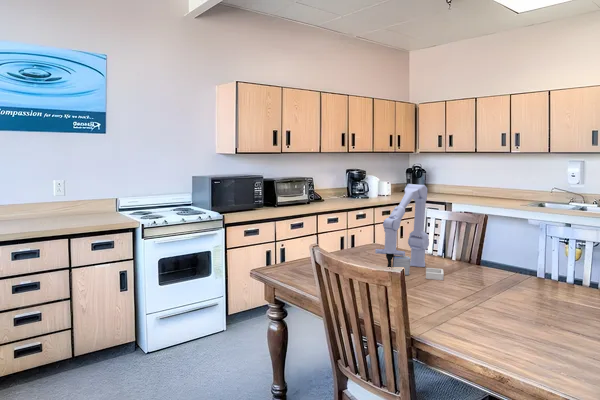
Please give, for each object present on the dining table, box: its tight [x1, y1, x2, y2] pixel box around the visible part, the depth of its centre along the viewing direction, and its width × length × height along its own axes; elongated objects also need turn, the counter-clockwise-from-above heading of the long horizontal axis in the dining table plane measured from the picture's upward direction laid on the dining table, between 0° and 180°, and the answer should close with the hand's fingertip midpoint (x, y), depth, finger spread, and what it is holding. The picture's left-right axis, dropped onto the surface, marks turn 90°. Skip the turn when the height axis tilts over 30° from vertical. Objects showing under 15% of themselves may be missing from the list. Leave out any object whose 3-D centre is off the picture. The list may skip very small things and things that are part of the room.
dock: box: [425, 267, 445, 281], centre depth 204 cm, size 9×8×3 cm
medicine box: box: [391, 255, 411, 276], centre depth 209 cm, size 8×4×9 cm, turn 86°
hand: (389, 268), depth 210 cm, fingers closed
